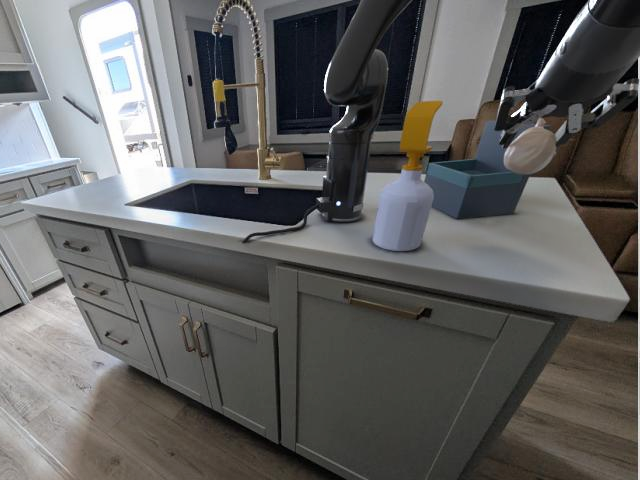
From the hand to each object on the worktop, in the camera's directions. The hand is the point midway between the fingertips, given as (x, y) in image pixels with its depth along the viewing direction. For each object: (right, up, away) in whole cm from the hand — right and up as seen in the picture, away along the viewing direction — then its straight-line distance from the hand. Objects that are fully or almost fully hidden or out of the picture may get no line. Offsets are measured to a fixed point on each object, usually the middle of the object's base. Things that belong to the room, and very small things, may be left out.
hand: (529, 143), depth 50 cm
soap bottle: (-15, -14, +14) cm, 24 cm away
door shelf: (+9, -2, +28) cm, 30 cm away
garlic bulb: (0, -5, +1) cm, 5 cm away
